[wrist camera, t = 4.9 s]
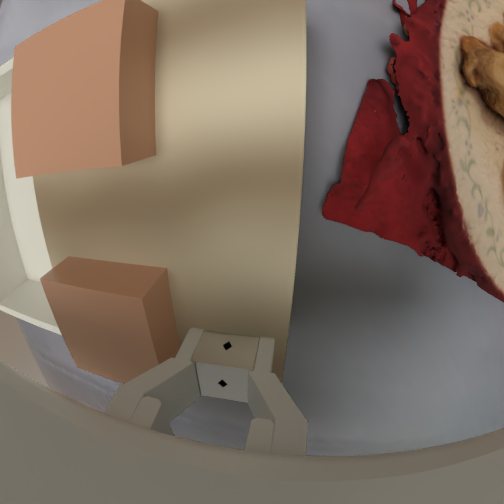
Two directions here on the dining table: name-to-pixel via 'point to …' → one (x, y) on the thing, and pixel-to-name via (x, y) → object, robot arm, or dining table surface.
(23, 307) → the box
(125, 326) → the terracotta tile
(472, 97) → the plate with food
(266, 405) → the robot arm
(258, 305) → the wooden box sleeve
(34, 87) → the terracotta tile
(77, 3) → the dining table surface
